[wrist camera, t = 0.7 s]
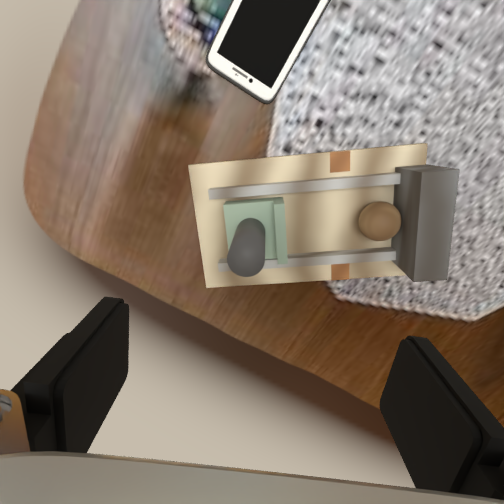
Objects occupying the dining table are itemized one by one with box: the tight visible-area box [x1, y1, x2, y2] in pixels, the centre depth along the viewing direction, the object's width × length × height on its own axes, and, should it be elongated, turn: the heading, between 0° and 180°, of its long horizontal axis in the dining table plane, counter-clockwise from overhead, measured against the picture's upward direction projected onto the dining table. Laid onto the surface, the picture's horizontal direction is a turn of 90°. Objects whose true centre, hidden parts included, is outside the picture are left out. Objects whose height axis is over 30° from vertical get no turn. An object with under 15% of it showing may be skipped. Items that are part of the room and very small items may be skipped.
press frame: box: [188, 143, 459, 288], centre depth 33 cm, size 24×14×8 cm, turn 95°
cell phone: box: [206, 0, 330, 104], centre depth 30 cm, size 8×15×1 cm, turn 149°
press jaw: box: [223, 197, 288, 277], centre depth 30 cm, size 6×6×10 cm
